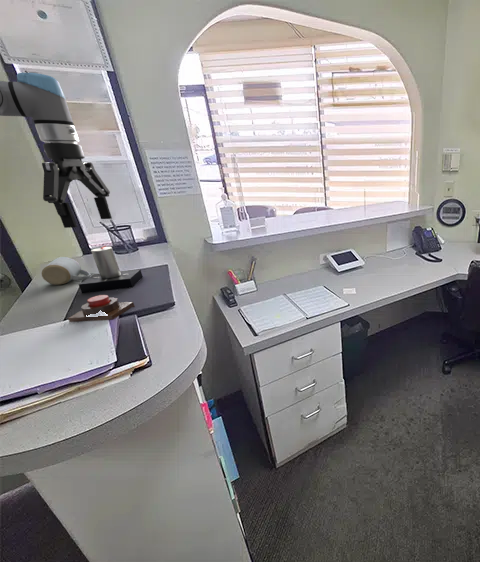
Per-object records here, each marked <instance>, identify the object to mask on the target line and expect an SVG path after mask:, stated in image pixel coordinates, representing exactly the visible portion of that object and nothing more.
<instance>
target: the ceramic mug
mask: <svg viewBox="0 0 480 562" xmlns="http://www.w3.org/2000/svg"><path fill="white" fill-rule="evenodd" d="M80 275H82V276H80ZM91 276H92V274H91V272H90V271H87V270H85V269H82V266H81V264H80V263H79V262H78V261H77V260H76V259H73V258H71V257H67V256H61V257H56V258H55V259H54V260H52V261H50V262H49V263H48V264H46V265H45V266H44V267H43V268H42V270H41V277H42V279H43V280H44V281H45V282H47V283H48V284H50V285H55V286H57V285H58V286H60V285H65V284H67V283H69V282H71V281H72V280H73V281H81V282H83V281H85V280H86V279H88V278H89V277H91Z"/></svg>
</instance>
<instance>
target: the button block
mask: <svg viewBox="0 0 480 562" xmlns="http://www.w3.org/2000/svg"><path fill="white" fill-rule="evenodd" d="M108 297H109V296H108ZM109 300H110V302H109V303H108V304H105V305H102V306H97V307H90V306H89V304H88V302H86V303H84V304H82V305H81V307H80V311H78V312H76V313H74V314H73V315H71V316H69V317H67V320H68V322H69V323H76V322H94V321H95V322H96V321H97V322H98V321H113V320H115V319H116V318H118V317H119V316H121V315H123V314H124V313H125V312H128V310H130V309H132V308H136V305H135V303H134V301H124V302H122V301H121V302H120V301H119V299H118V297H113V296H112V297H111V296H110V297H109ZM100 310H101V311H102V312H105V313H106V314H108V316H98V317H86V315H87V316H88V315H90V314H96V313H98V312H99V311H100Z"/></svg>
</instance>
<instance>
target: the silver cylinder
mask: <svg viewBox="0 0 480 562" xmlns="http://www.w3.org/2000/svg"><path fill="white" fill-rule="evenodd" d="M90 252H91V254H92V257H93V260H94V262H95V266H96V268H97V270H98V274H100V276H101V278H102V279H109V278H114V277H117V276H120V275H121V273H120V271H121V270H120V267H119V264H118V261H117V258H116V255H115V253H114V248H113V247H112V246H107V245H102V246H101V247H96V248H93V249H91V250H90Z"/></svg>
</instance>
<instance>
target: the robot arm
mask: <svg viewBox="0 0 480 562" xmlns="http://www.w3.org/2000/svg"><path fill="white" fill-rule="evenodd" d="M16 78H17V80H16V81H4V80H0V117H23V118H32V120H33V124H34V126H35V129H36V132H37V135H38V137H39V140H40V141H41V142H44V143H43V144H42V147H43V150H44V152H45V153H44V154H45V156H46V157H47V159H49V160H52V162H42V163H41V167H42V170H43V188H42V200H43V201H44V202H47V203H48V204H53V206H54V208H55V210H56V213H57V215H58V216H59V217H60V220H61V223H62V225H63V228H64V229H68V228H69V229H71V228H73V229H74V228H78V225H77V222H76V219H75V217H74V214H73V211H72V208H71V206H70V203H69V202H67V201H66V198H67V195H68V192H69V187H70V185H71V182H73V181H76V180H77V181H78V182H81V184H82V185H84V186H85V188H87V189H88V190H89V191H90V192H91V193H92V194H93V195H94V196H95V197H93V200H94V202H95V203H94V204H95V205H96V208H97V211H98V214H99V217H100V219H101V220H111V219H113V216H112V214H111V210H110V207H109V203H108V200H107V197H110V194H111V191H110V189H109V188H108V186H107V185H106V183H104V181H103V180H102V178H101V177H100V175H99V173H98V172H97V170H96V169H95V167H94V164H93V162H88V161H87V162H86V161H85V162H83V159H85V158H86V156H85V152H84V151H83V147H82V145H81V144H79V142H80V139H79V136H78V133H77V130H76V127H75V124H74V120H73V117H72V114H71V111H70V108H69V104H68V102H67V99H66V95H65V93H64V92H63V89H62V86H61V83H60V82H59V81H58V79H56V78H55V77H53V76H51V75H48V74H43V73H38V72H24V71H23V72H22V71H21V72H18V73H17V74H16Z"/></svg>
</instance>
